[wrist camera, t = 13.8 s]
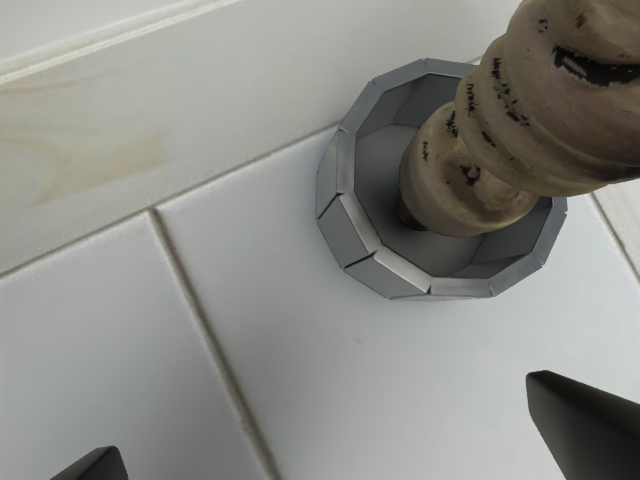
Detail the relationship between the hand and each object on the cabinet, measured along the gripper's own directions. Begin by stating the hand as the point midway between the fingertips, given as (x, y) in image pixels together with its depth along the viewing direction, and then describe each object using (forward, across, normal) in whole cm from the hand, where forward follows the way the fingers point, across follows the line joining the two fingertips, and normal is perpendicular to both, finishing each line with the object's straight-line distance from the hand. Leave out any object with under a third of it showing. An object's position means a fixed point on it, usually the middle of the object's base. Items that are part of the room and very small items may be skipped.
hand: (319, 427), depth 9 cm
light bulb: (+15, -5, -2) cm, 16 cm away
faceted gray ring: (+14, -5, -2) cm, 16 cm away
